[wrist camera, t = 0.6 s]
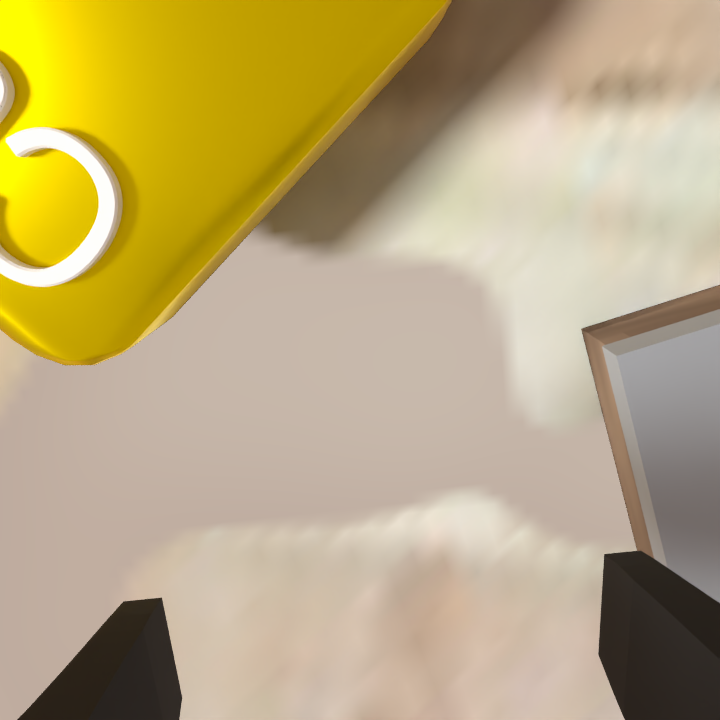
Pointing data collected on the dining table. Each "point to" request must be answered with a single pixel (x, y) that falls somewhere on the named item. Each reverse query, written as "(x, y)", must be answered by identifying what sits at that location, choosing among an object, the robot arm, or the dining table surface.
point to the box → (594, 341)
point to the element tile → (165, 145)
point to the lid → (675, 440)
